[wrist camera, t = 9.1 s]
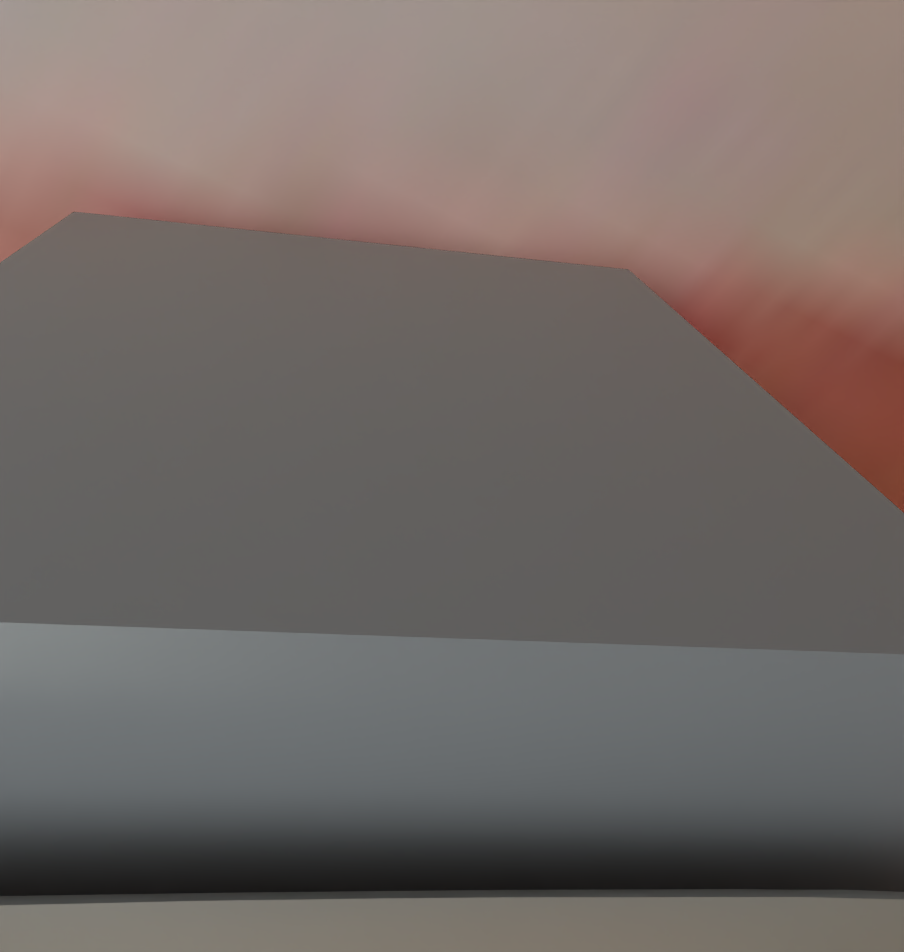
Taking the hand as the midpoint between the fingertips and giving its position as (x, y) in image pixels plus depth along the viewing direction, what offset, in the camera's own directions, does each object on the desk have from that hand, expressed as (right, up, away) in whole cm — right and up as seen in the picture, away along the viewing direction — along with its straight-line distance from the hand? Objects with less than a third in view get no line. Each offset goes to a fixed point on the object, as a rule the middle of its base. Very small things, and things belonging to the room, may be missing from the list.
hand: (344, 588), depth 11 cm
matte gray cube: (0, +1, +3) cm, 3 cm away
